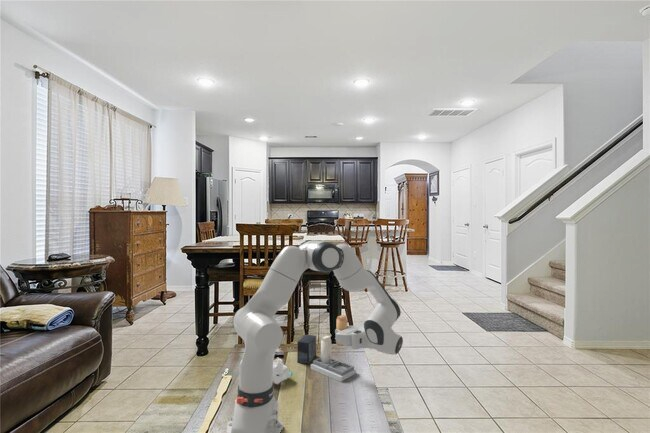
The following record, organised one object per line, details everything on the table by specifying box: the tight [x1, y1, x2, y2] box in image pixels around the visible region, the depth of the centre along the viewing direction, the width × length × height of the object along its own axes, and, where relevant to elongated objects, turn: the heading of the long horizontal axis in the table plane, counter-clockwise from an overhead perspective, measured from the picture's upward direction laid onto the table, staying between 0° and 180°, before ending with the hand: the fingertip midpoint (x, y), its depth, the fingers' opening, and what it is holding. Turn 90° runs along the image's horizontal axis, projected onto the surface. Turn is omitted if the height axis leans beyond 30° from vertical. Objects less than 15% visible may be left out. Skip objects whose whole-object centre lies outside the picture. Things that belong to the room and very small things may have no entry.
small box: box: [296, 334, 317, 365], centre depth 174 cm, size 11×6×10 cm, turn 162°
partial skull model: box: [273, 356, 293, 385], centre depth 152 cm, size 12×9×10 cm
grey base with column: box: [310, 334, 357, 382], centre depth 161 cm, size 18×11×14 cm, turn 48°
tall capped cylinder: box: [335, 314, 348, 347], centre depth 158 cm, size 5×5×12 cm
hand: (340, 329), depth 159 cm, fingers closed on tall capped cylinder, 5 cm apart
